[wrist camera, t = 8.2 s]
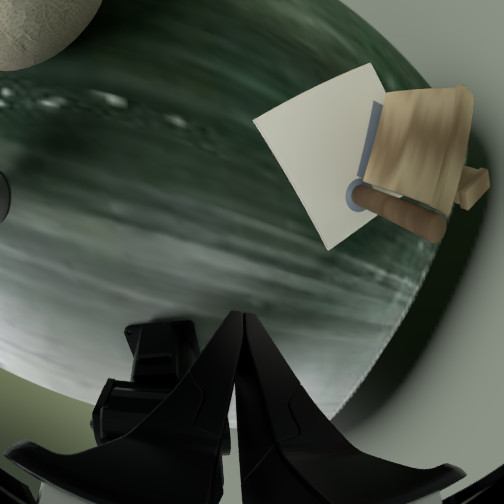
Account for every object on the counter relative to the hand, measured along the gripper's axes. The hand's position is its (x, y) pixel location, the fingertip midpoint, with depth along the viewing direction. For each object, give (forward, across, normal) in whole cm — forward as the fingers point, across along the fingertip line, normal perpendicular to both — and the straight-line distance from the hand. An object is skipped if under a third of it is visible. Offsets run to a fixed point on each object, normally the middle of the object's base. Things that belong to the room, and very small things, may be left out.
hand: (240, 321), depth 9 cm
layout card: (+15, -8, -6) cm, 18 cm away
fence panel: (+15, -10, -8) cm, 19 cm away
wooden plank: (+15, -12, -4) cm, 20 cm away
